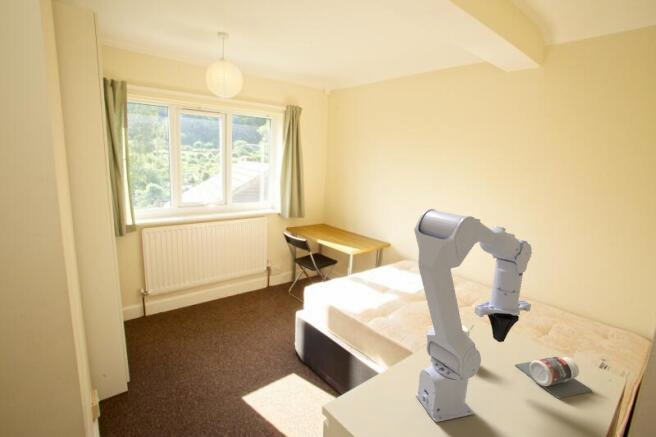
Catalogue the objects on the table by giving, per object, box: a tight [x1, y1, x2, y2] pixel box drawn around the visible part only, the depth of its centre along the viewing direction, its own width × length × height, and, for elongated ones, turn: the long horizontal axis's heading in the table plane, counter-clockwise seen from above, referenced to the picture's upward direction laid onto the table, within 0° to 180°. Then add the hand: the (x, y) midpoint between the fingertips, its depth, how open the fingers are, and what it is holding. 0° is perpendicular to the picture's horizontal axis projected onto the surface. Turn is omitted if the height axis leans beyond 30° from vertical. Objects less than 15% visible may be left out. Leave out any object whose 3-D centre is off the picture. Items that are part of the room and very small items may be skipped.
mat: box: [514, 361, 593, 400], centre depth 80 cm, size 10×12×1 cm
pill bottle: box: [530, 356, 580, 386], centre depth 78 cm, size 6×6×10 cm
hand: (498, 339), depth 77 cm, fingers closed
